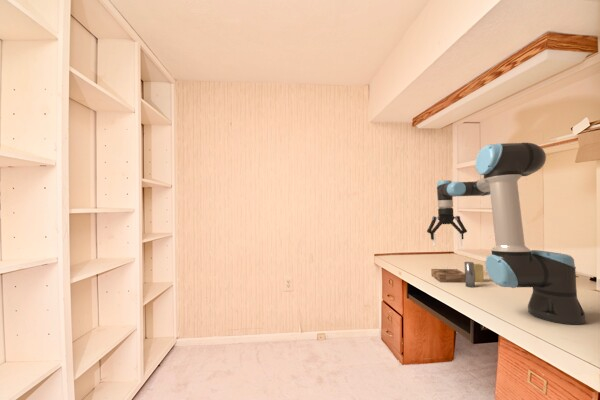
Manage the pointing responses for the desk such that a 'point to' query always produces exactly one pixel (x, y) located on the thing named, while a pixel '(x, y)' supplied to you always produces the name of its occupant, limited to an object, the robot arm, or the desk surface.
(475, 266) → the square bit
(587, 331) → the desk surface
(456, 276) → the socket block
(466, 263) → the round bit
